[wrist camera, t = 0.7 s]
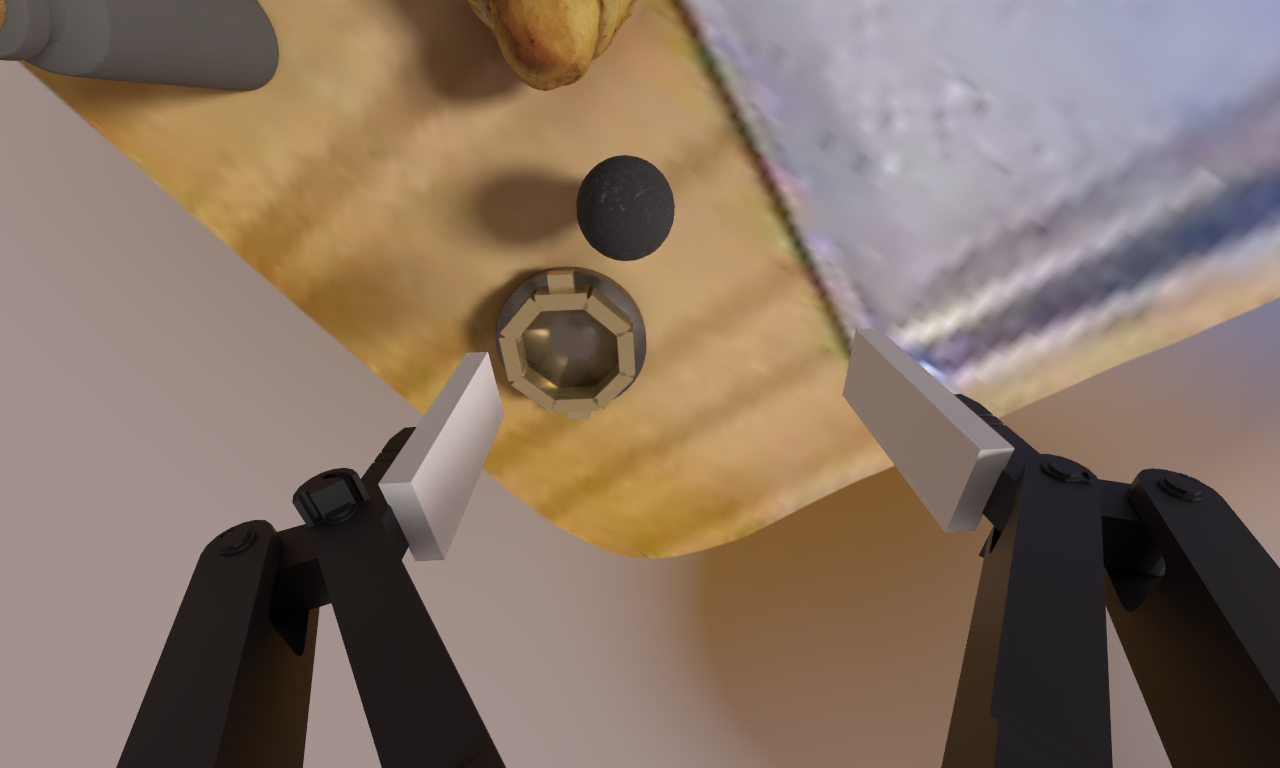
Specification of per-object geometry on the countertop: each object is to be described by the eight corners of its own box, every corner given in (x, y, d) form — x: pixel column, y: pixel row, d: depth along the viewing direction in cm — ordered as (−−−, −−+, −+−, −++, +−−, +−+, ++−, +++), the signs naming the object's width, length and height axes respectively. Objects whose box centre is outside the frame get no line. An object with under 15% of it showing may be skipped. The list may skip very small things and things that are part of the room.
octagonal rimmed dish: (486, 267, 34) (472, 281, 31) (643, 260, 34) (644, 273, 31) (515, 404, 41) (505, 426, 38) (648, 398, 41) (649, 420, 38)
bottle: (151, -30, 26) (-340, -186, 13) (254, -33, 26) (-130, -192, 13) (203, 92, 29) (-151, 67, 16) (296, 90, 29) (19, 62, 16)
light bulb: (572, 205, 32) (551, 235, 24) (613, 130, 30) (607, 133, 21) (637, 248, 34) (640, 292, 25) (681, 181, 32) (701, 203, 23)
